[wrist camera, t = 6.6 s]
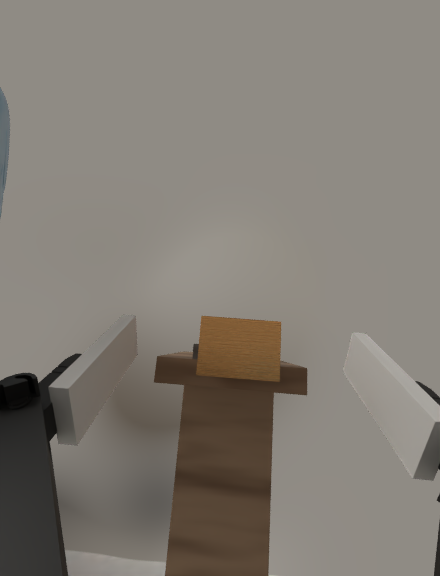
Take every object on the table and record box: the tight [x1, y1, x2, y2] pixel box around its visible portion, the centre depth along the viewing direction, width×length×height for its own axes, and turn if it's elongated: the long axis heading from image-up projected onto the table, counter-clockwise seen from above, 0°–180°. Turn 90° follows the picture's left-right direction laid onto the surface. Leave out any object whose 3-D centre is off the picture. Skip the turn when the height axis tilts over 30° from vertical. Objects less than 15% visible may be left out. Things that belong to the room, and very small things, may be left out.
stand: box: [154, 344, 307, 576], centre depth 24 cm, size 14×14×31 cm
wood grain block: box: [196, 316, 281, 382], centre depth 23 cm, size 24×4×2 cm, turn 179°
